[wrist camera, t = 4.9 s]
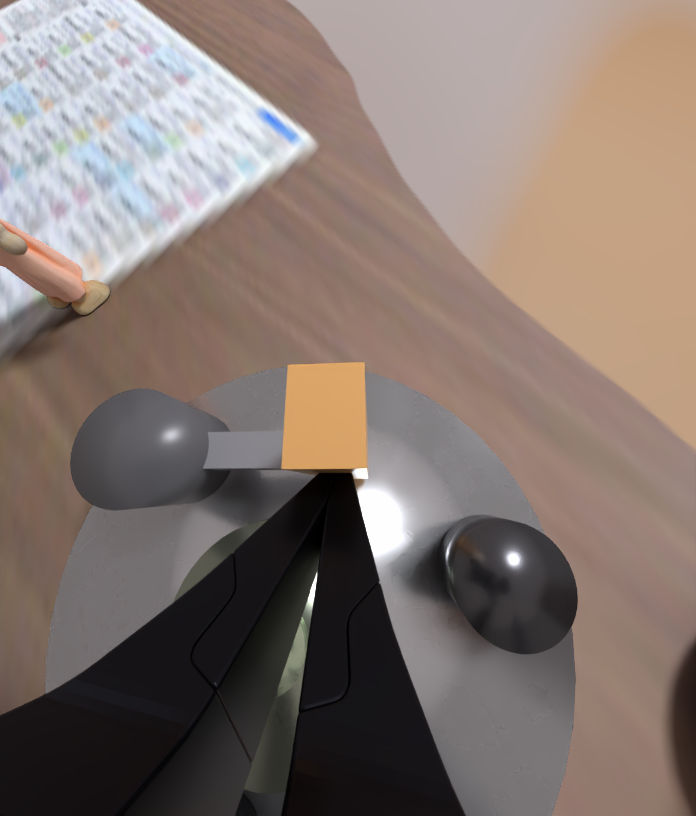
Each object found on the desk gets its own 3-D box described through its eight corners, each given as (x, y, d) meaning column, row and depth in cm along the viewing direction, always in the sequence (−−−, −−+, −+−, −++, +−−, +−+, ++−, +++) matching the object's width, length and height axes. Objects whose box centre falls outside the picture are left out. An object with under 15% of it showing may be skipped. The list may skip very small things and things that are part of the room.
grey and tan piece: (139, 503, 14) (-157, 526, 6) (156, 413, 16) (-70, 336, 8) (368, 504, 13) (367, 531, 5) (366, 409, 15) (363, 316, 7)
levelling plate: (246, 1160, 9) (120, 1850, 5) (4, 562, 16) (-160, 596, 11) (672, 634, 12) (861, 726, 8) (329, 303, 18) (315, 239, 14)
